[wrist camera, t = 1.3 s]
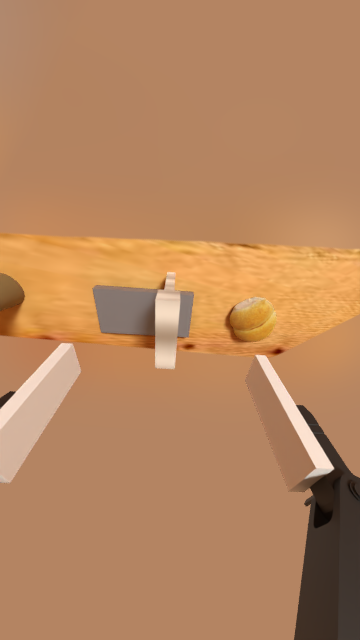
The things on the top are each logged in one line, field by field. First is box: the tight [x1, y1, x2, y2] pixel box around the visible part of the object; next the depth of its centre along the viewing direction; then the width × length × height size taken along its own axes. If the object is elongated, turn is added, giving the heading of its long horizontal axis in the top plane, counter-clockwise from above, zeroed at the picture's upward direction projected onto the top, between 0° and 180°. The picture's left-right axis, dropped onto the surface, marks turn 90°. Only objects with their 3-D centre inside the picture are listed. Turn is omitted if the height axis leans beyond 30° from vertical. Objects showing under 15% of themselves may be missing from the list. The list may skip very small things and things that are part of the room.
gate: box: [155, 272, 180, 369], centre depth 26 cm, size 12×3×10 cm, turn 176°
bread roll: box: [230, 297, 277, 342], centre depth 32 cm, size 8×9×4 cm
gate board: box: [93, 285, 194, 337], centre depth 32 cm, size 17×9×2 cm, turn 86°
